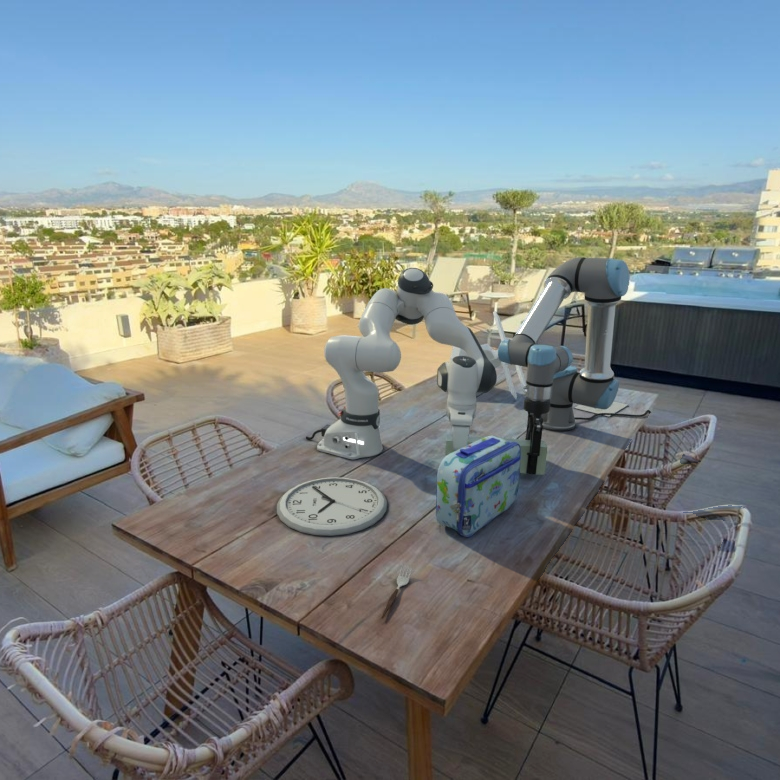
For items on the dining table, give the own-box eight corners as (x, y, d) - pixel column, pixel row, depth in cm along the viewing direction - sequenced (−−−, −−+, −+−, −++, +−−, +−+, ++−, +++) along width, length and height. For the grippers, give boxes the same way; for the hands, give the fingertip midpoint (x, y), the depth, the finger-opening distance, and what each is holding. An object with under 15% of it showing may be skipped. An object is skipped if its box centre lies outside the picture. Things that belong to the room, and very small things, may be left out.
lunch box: (462, 546, 125) (467, 466, 119) (428, 528, 132) (432, 452, 126) (521, 508, 143) (529, 437, 136) (489, 494, 150) (494, 425, 144)
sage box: (542, 467, 163) (545, 440, 160) (544, 474, 158) (547, 447, 155) (445, 461, 166) (446, 434, 164) (444, 467, 161) (446, 440, 159)
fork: (375, 618, 102) (375, 610, 101) (401, 570, 116) (402, 563, 115) (388, 622, 101) (388, 613, 100) (413, 573, 115) (413, 565, 114)
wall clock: (392, 527, 129) (268, 531, 127) (391, 533, 130) (269, 537, 127) (383, 473, 158) (282, 475, 155) (383, 478, 158) (282, 480, 156)
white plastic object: (461, 429, 252) (437, 405, 227) (444, 352, 274) (420, 323, 250) (535, 404, 240) (518, 377, 215) (510, 326, 262) (492, 293, 237)
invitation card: (608, 416, 214) (573, 407, 224) (608, 416, 214) (573, 408, 224) (628, 404, 229) (594, 396, 238) (628, 405, 229) (594, 397, 238)
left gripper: (450, 399, 168) (448, 438, 172) (450, 421, 149) (447, 465, 153) (470, 400, 167) (467, 440, 172) (472, 422, 148) (469, 467, 152)
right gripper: (520, 388, 163) (514, 456, 170) (528, 407, 146) (520, 482, 152) (545, 389, 162) (537, 458, 169) (556, 408, 145) (547, 484, 152)
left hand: (458, 452), depth 162 cm, fingers closed on sage box, 5 cm apart
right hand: (529, 469), depth 161 cm, fingers closed on sage box, 5 cm apart
